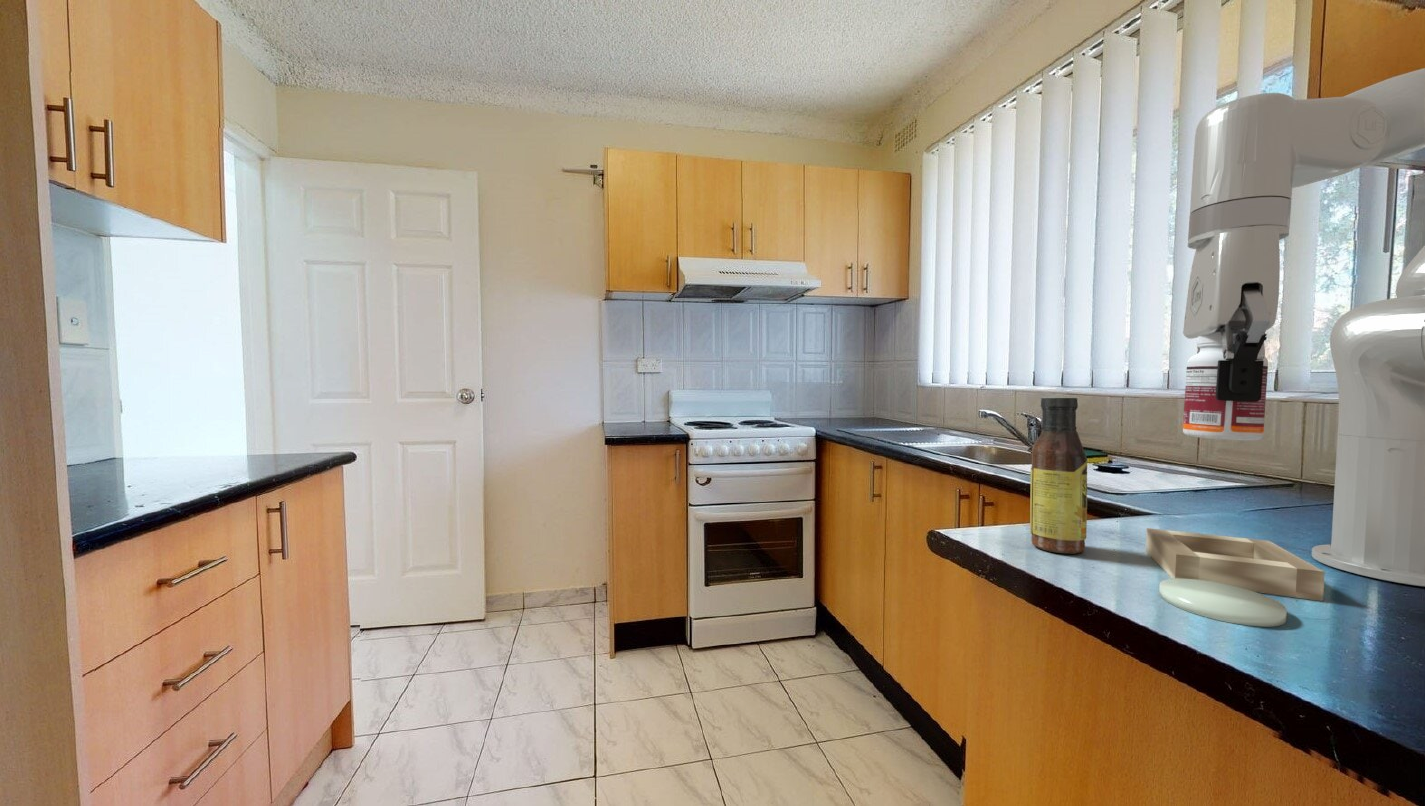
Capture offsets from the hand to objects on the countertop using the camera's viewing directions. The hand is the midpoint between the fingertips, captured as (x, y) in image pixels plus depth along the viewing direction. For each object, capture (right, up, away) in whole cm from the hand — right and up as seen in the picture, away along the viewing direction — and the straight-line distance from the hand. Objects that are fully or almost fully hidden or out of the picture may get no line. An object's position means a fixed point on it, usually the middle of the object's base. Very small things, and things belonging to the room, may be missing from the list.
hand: (1224, 398), depth 56 cm
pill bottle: (0, -4, 0) cm, 4 cm away
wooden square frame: (+5, -20, +5) cm, 21 cm away
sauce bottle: (-8, -20, +14) cm, 26 cm away
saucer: (-4, -20, -4) cm, 21 cm away
